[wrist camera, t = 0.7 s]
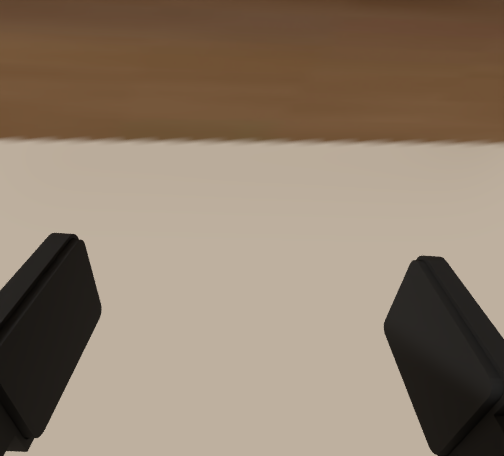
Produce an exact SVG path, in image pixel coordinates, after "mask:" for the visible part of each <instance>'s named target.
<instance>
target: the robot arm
mask: <svg viewBox="0 0 504 456" xmlns="http://www.w3.org/2000/svg"><path fill="white" fill-rule="evenodd" d="M100 315H101V303H100V300H99V295H98V292H97V288H96V284H95V280H94V277H93V273H92V269H91V265H90V262H89V258H88V254H87V251H86V247H85V243H84V241H83V240H79V239H78V237H77V236H76V235H75V234H64V233H52V234H50V235H49V236H48V237H47V238H46V239H45V241H44V242H43V243H42V244H41V245H40V246H39V247H38V249H37V250H36V251H35V252H34V253H33V254H32V256H31V257H30V258H29V259H28V260H27V261H26V262H25V263H24V264H23V266H22V267H21V268H20V269H19V270H18V271H17V272H16V273H15V275H14V276H13V277H12V278H11V279H10V280H9V281H8V283H7V284H6V285H5V286H4V287H3V288H2V289H1V290H0V456H4V454H5V452H6V451H22V452H27V451H28V449H29V447H30V445H31V443H32V441H33V440H34V438H38V437H40V436H41V434H42V433H43V432H44V430H45V428H46V426H47V424H48V422H49V420H50V418H51V416H52V414H53V412H54V410H55V408H56V406H57V404H58V402H59V400H60V398H61V395H62V393H63V392H64V390H65V387H66V385H67V383H68V381H69V379H70V377H71V375H72V373H73V371H74V369H75V367H76V365H77V363H78V361H79V359H80V357H81V355H82V352H83V351H84V349H85V347H86V345H87V343H88V341H89V339H90V337H91V334H92V333H93V331H94V328H95V327H96V324H97V322H98V320H99V318H100ZM384 332H385V335H386V338H387V340H388V343H389V346H390V348H391V350H392V353H393V356H394V358H395V361H396V363H397V366H398V369H399V371H400V374H401V376H402V379H403V381H404V384H405V386H406V389H407V391H408V394H409V397H410V399H411V402H412V404H413V407H414V409H415V412H416V415H417V417H418V420H419V422H420V425H421V427H422V430H423V433H424V435H425V437H426V440H427V443H428V445H429V447H430V449H431V451H432V452H433V453H434V454H436V455H438V456H504V339H503V337H502V336H501V335H500V333H499V332H498V331H497V329H496V328H495V327H494V325H493V324H492V323H491V321H490V320H489V319H488V317H487V316H486V314H485V313H484V312H483V310H482V309H481V308H480V306H479V305H478V304H477V302H476V301H475V299H474V298H473V297H472V295H471V294H470V293H469V291H468V290H467V289H466V287H465V286H464V285H463V283H462V282H461V281H460V279H459V278H458V277H457V275H456V274H455V273H454V271H453V270H452V268H451V267H450V266H449V264H448V263H447V262H446V261H445V259H444V258H442V257H435V256H419V257H418V258H417V260H413V261H412V262H411V263H410V265H409V268H408V270H407V272H406V275H405V277H404V279H403V281H402V284H401V286H400V288H399V290H398V293H397V295H396V297H395V299H394V301H393V304H392V306H391V308H390V311H389V313H388V315H387V318H386V319H385V322H384Z"/></svg>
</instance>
